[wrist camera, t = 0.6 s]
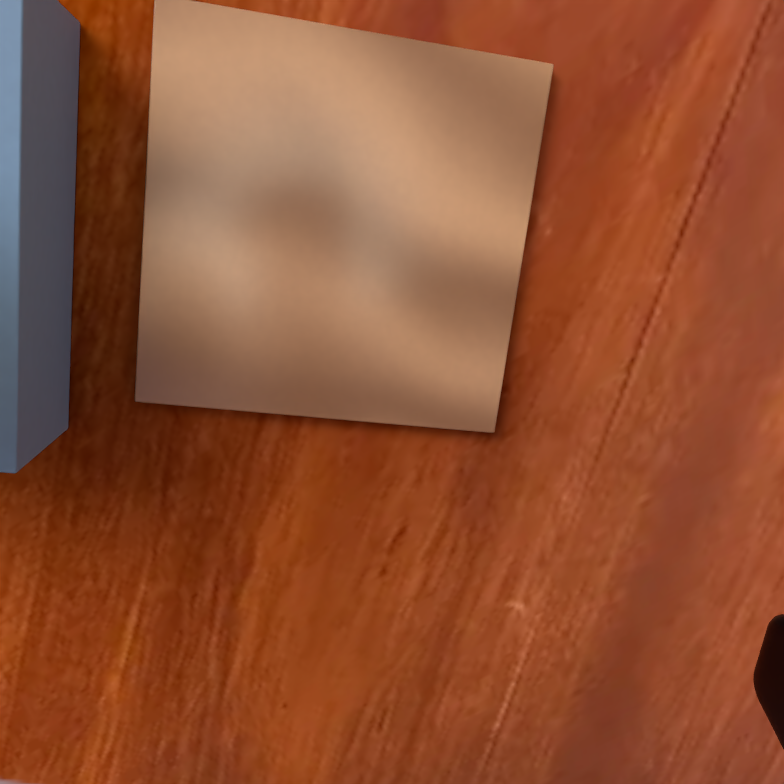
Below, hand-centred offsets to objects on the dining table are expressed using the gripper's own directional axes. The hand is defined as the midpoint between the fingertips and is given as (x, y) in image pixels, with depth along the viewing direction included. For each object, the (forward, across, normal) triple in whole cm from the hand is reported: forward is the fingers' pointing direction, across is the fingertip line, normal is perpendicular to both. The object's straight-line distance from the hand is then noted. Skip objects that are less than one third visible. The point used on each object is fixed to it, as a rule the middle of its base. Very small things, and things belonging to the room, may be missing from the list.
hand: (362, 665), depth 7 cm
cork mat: (+15, -1, -2) cm, 15 cm away
